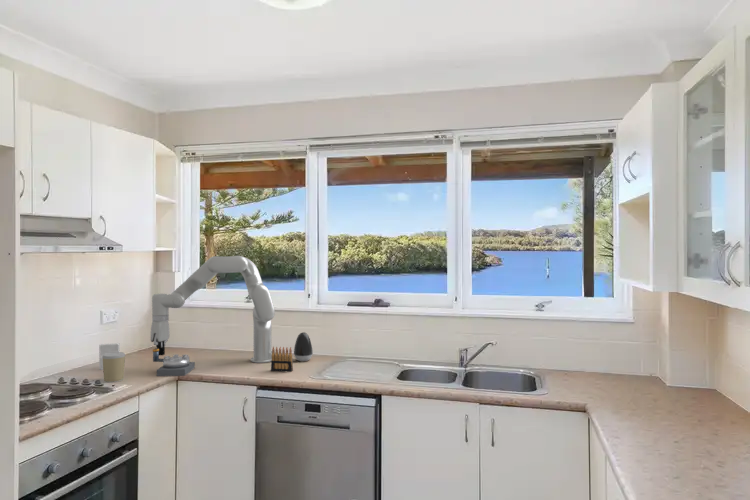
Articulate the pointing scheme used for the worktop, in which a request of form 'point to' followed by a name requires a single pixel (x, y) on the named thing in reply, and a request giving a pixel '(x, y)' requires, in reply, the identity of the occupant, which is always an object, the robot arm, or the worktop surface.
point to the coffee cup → (113, 366)
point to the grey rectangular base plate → (175, 370)
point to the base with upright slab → (106, 351)
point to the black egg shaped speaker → (303, 347)
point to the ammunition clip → (281, 360)
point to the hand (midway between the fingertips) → (160, 354)
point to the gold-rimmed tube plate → (171, 360)
